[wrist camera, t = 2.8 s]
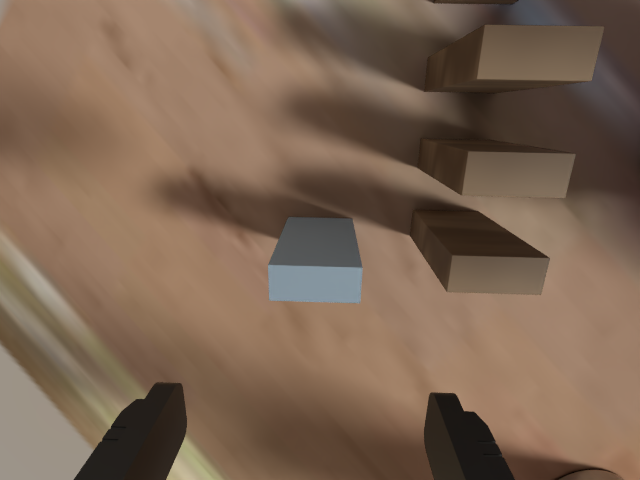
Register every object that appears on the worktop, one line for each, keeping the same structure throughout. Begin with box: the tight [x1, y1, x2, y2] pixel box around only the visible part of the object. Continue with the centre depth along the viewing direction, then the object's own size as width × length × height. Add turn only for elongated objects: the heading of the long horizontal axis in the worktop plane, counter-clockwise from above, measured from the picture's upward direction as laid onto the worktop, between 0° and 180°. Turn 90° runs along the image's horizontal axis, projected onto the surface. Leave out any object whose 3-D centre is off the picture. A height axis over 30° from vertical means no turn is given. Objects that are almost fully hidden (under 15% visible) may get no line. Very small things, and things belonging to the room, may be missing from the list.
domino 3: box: [418, 138, 576, 198], centre depth 23 cm, size 2×5×10 cm, turn 89°
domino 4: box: [410, 210, 550, 295], centre depth 25 cm, size 2×5×10 cm, turn 89°
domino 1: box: [268, 217, 362, 303], centre depth 25 cm, size 2×5×10 cm, turn 89°
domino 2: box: [424, 25, 605, 93], centre depth 21 cm, size 2×5×10 cm, turn 89°
